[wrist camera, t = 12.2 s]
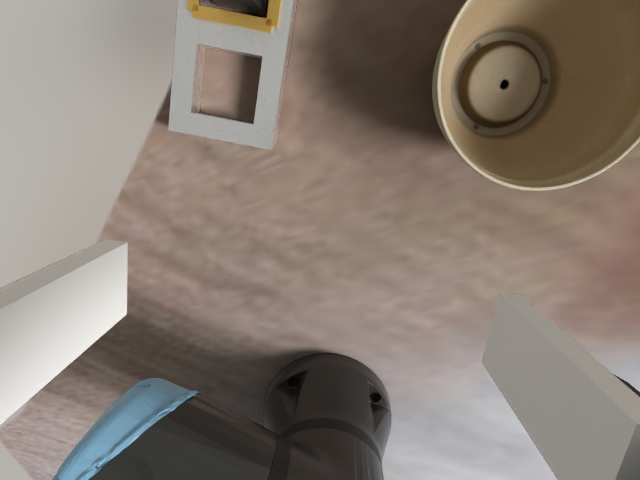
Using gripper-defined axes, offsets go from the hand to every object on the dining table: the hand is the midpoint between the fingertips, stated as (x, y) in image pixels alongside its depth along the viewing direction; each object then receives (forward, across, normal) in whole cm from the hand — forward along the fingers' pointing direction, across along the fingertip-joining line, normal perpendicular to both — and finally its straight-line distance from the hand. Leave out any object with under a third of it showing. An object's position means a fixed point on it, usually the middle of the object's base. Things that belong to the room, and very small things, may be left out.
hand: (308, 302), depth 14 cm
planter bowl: (+28, -15, -12) cm, 34 cm away
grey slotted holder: (+28, +10, -13) cm, 33 cm away
